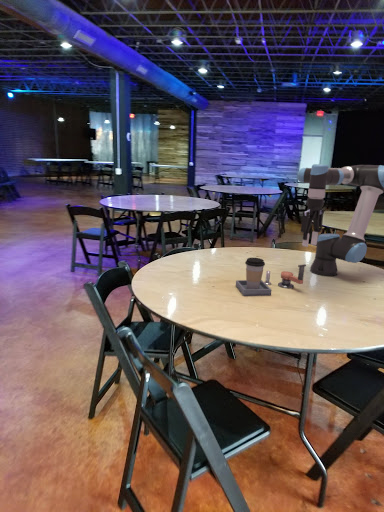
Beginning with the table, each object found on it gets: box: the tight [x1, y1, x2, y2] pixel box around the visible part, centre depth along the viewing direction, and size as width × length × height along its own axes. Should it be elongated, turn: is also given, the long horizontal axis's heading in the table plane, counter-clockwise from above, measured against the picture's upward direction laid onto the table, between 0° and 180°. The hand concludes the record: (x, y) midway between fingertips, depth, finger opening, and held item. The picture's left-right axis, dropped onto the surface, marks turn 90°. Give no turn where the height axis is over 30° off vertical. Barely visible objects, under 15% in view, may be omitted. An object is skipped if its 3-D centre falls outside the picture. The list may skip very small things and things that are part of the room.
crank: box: [280, 263, 307, 285], centre depth 172 cm, size 13×6×10 cm, turn 29°
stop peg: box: [263, 270, 272, 286], centre depth 179 cm, size 4×4×7 cm
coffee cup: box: [245, 257, 266, 289], centre depth 167 cm, size 9×9×15 cm
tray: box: [235, 279, 273, 297], centre depth 168 cm, size 14×14×3 cm
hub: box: [277, 278, 295, 289], centre depth 177 cm, size 8×8×4 cm
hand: (309, 245), depth 167 cm, fingers open, 6 cm apart
